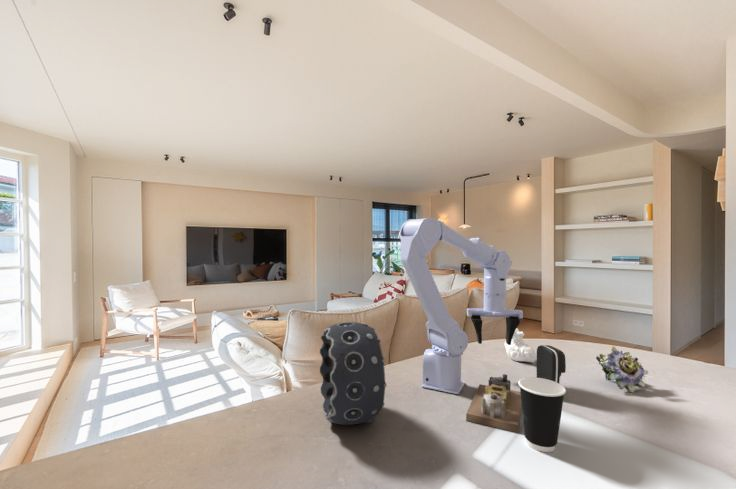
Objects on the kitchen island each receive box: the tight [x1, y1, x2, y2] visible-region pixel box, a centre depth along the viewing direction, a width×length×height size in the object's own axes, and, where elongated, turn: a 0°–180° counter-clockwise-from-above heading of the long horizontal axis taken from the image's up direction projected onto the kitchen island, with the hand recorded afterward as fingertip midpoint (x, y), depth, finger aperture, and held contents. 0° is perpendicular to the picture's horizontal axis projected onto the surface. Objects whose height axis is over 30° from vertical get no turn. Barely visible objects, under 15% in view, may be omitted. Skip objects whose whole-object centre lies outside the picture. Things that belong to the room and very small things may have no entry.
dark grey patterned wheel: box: [319, 321, 387, 426], centre depth 74 cm, size 11×20×20 cm, turn 15°
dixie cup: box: [517, 376, 567, 453], centre depth 66 cm, size 8×8×11 cm
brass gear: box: [485, 384, 509, 405], centre depth 79 cm, size 5×5×3 cm
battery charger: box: [535, 344, 567, 384], centre depth 88 cm, size 7×4×11 cm, turn 8°
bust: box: [503, 327, 537, 364], centre depth 112 cm, size 12×8×11 cm
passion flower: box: [595, 345, 649, 394], centre depth 93 cm, size 11×11×12 cm
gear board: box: [465, 373, 522, 434], centre depth 79 cm, size 10×17×6 cm, turn 154°
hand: (493, 343), depth 98 cm, fingers open, 7 cm apart
